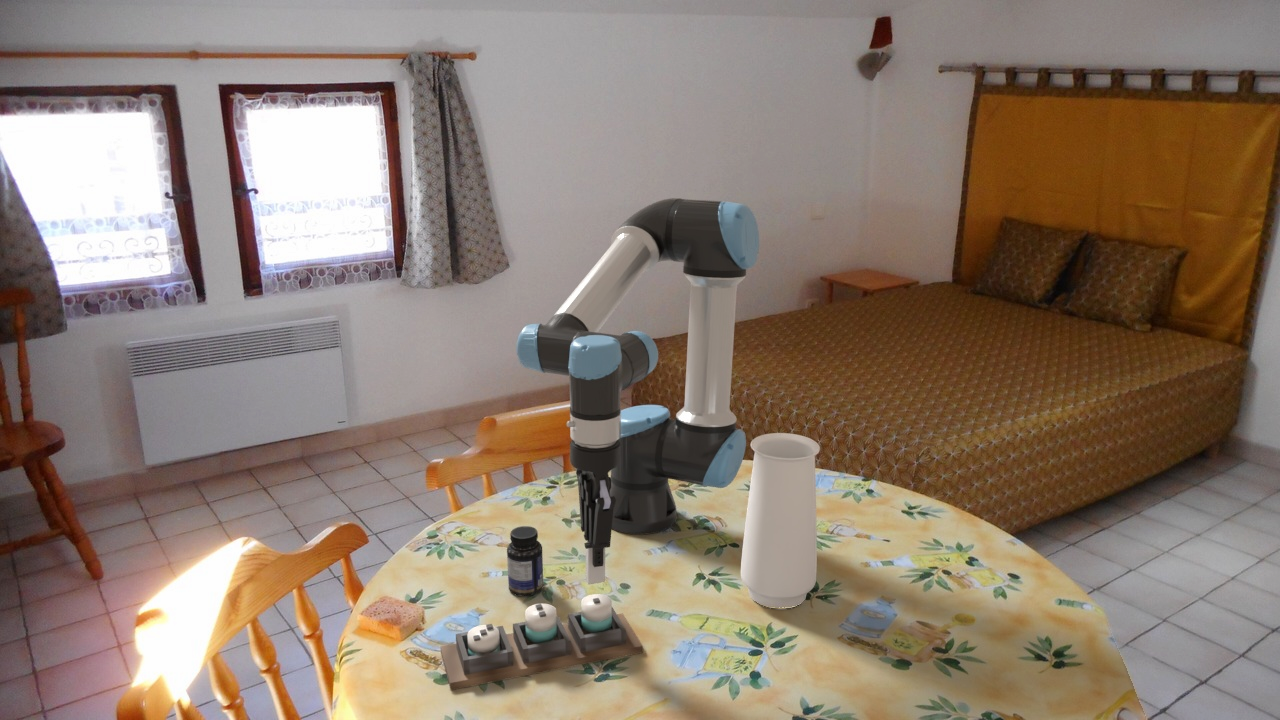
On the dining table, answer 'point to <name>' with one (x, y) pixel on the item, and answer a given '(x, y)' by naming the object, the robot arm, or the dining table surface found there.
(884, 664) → the dining table surface
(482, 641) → the button three
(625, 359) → the robot arm
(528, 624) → the button two
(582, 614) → the button one
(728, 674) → the dining table surface
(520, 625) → the button board
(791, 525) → the vase
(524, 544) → the pill bottle
